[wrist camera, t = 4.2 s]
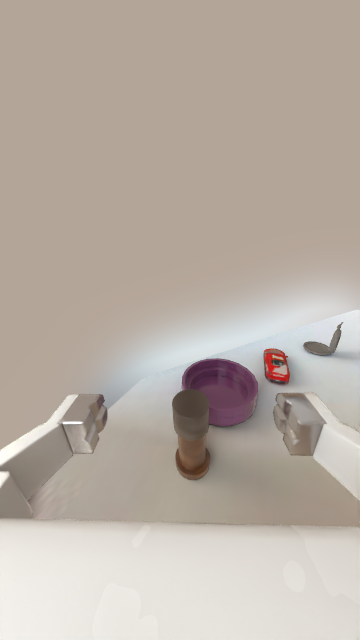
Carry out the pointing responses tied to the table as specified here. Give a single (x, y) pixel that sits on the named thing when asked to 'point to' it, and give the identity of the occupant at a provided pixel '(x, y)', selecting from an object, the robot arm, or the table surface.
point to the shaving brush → (191, 433)
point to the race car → (276, 366)
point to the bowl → (223, 389)
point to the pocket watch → (324, 349)
